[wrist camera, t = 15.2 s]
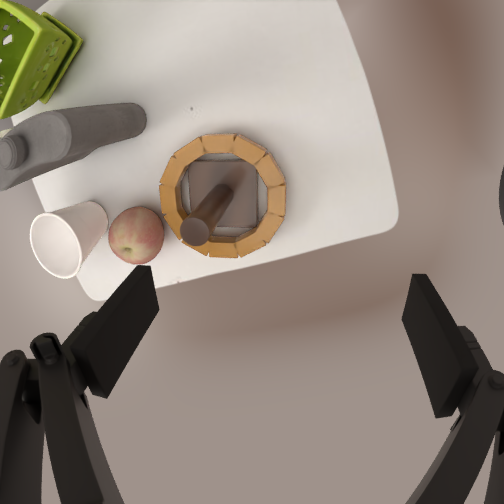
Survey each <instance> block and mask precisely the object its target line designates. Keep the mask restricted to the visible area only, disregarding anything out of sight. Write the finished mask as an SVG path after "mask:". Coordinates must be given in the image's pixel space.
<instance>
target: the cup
mask: <svg viewBox="0 0 504 504" xmlns="http://www.w3.org/2000/svg"><path fill="white" fill-rule="evenodd" d="M107 227H108V219H107V215H106V213H105V211H104V209H103V208H102V207H101V206H100V205H99V204H97V203H95V202H92V201H87V202H83V203H80V204H77V205H73V206H70V207H66V208H63V209H59V210H56V211H53V212H45V213H41V214H39V215H38V216H37V217H36V218H35V219H34V220H33V222H32V225H31V228H30V242H31V246H32V249H33V252H34V254H35V257H36V258H37V260H38V262H39V263H40V264H41V265H42V267H43V268H45V270H46V271H48V272H49V273H50V274H52V275H54V276H56V277H59V278H64V279H66V278H71V277H73V276H75V275H76V274H77V273H78V272H79V270H80V268H81V265H82V264H83V262H84V261H85V259H86V258H87V257H88V255H89V253H90V252H91V251H92V249H93V248H94V247H95V245H96V244H97V243H98V241H99V240H100V239H101V237H102V236H103V235H104V233H105V232H106V230H107Z"/></svg>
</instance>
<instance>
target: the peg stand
mask: <svg viewBox="0 0 504 504" xmlns="http://www.w3.org/2000/svg"><path fill="white" fill-rule="evenodd" d="M188 178H189V192H190V206H191V213H190V214H189V215H188V216H187V217H186V219H185V220H184V221H183V222H182V224H181V226H180V235H181V237H182V239H183V240H184V241H185V242H186V243H187V244H189V245H191V246H201V245H203V244H205V243H206V242H207V241H208V239H209V238H210V236H211V234H212V233H213V231H214V229H215V228H216V227H248V228H255V227H257V225H258V190H257V170H256V168H255V166H254V165H252V164H250V163H248V162H247V161H245V160H195V161H193V162H192V163H190V165H189V167H188Z"/></svg>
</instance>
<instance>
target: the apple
mask: <svg viewBox="0 0 504 504" xmlns="http://www.w3.org/2000/svg"><path fill="white" fill-rule="evenodd" d="M108 240H109V245H110V248H111V249H112V251H113V252H114V253H115V254H116V256H118V257H119V258H120V259H122V260H123V261H125V262H127V263H130V264H145V263H147V262H149V261H151V260H152V259H154V258H155V257H156V256H157V254H158V253H159V252H160V250H161V247H162V245H163V241H164V230H163V225H162V222H161V220H160V218H159V217H158V216H157V215H156V214H155V213H154V212H153V211H151V210H149V209H146V208H143V207H133V208H130V209H127V210H125V211H124V212H122V213H121V214H120V215H119V216H117V217H116V219H115V220H114V221H113V222H112V224H111V226H110V229H109V238H108Z"/></svg>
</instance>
